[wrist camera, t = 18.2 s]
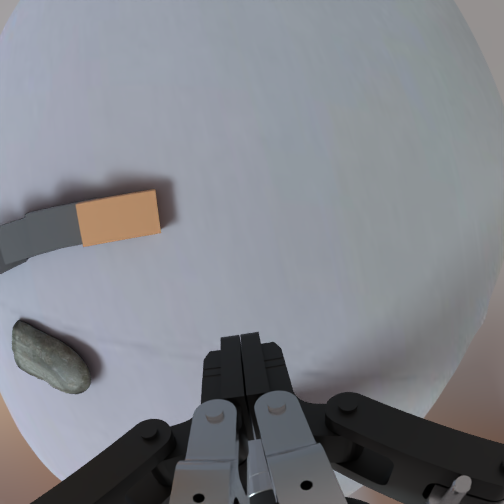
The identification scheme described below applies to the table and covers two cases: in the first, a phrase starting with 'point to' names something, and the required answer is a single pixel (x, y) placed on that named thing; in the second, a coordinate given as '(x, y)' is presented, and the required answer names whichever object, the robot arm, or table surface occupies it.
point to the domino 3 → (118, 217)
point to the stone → (49, 359)
